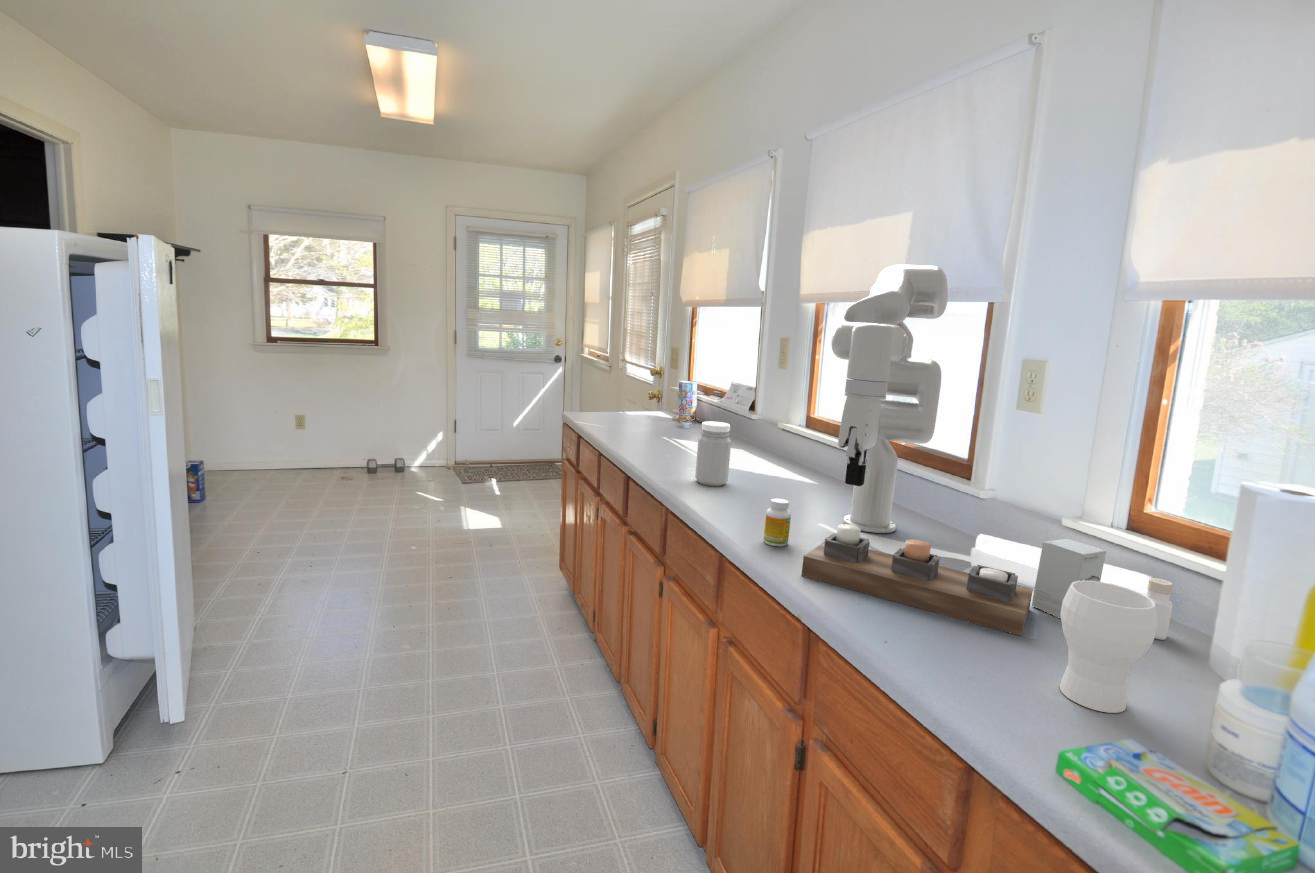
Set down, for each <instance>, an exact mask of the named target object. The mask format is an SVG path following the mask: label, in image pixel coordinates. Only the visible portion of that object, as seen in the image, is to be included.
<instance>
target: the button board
mask: <svg viewBox="0 0 1315 873" xmlns="http://www.w3.org/2000/svg"><path fill="white" fill-rule="evenodd" d="M836 534H837V532H833V533H832V534H829V536H827V537H826V538H824V541H823V542H822V543H821V544H819V545H817V547H815V548H813V549H811V551H808V552H807V553H806V554H804V555H803V557H802V558H803V559H802V569H801V575H800V576H801V577H805V576H806V578H808V577H809V579H812V578H813V580H815V579H816V580H815V581H819V580H821V581H820V582H823V583H826V582H828V583H827V584H831V585H834V586H837V585H838V586H837V587H841V588H845V589H848V590H853V591H856V592H860V593H863V594H866V595H871V596H874V597H878V598H881V599H885V600H887V601H888V600H889V601H891V602H895V603H900V604H902V605H906V606H910V607H914V608H916V609H917V608H918V609H921V610H925V611H928V612H931V613H935V614H938V615H941V616H946V617H949V616H950V617H951V618H954V619H957V620H960V619H962V620H961V621H964V622H967V621H969V623H972V624H975V623H976V625H979V626H982V625H983V627H985V628H989V627H991V628H990V629H993V628H996V629H998V630H997V631H1000V630H1003V631H1002V632H1004V631H1006V632H1005V633H1007V632H1011V633H1014V634H1013V635H1015V634H1018V635H1021V636H1020V637H1022V636H1023V633H1022V632H1024V629H1023V628H1025V626H1024V625H1026V622H1027V619H1026V618H1028V616H1027V615H1029V612H1028V611H1030V608H1031V604H1032V598H1033V596H1032V595H1033V592H1034V588H1033V587H1030V586H1029V587H1028V586H1024V585H1021V584H1018V578H1019V575H1017V574H1016V573H1014V572H1011V571H1006V570H1002V569H998V568H993V567H989V566H984V565H981V564H977V565H972V568H971V569H970V571H969V572H965V571H962V570H958V569H953V568H951V567H946V566H941V565H940V560H941V558H940V556H939V555H938V554H934V553H933V554H932V553H930V556H929V562H927V563H924V562H920V561H916V560H912V559H908V558H904V550H905V547H903V548H899V549H898V550H897V551H896V552H894V554H892V553H891V554H890V553H887V552H883V551H880V550H874V549H871V548H870V543H871V541H870V540H869V539H868V538H865V537H861V536H860V540H859V545H857V546H854V545H849V544H845V543H841V542H837V541H836ZM982 568H991V569H996V570H1000V571H1003V572H1005V573H1006V574H1007V575H1008V578H1007V582H1003V581H999V580H995V579H991V578H987V577H983V576H979V573H980V569H982ZM996 629H995V630H996ZM1011 633H1010V634H1011ZM1018 635H1017V636H1018Z"/></svg>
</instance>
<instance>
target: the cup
mask: <svg viewBox="0 0 1315 873" xmlns="http://www.w3.org/2000/svg"><path fill="white" fill-rule="evenodd" d="M1145 595H1146V594H1143V593H1141V592H1138V591H1136V590H1133V589H1130V588H1129V587H1124V586H1122V585H1117V584H1113V583H1108V582H1104V581H1100V582H1097V581H1076V582H1073V583H1072V584H1071V585H1070V587H1069V589H1068V591H1067V593H1066V595H1065V597H1064V599H1063V602H1062V608H1061V614H1060V615H1061V619H1060V620H1061V627H1062V628H1061V629H1062V633H1063V636H1064V638H1065V641H1066V644H1067V646H1068V654H1067V655H1068V656H1067V658H1068V659H1067V660H1068V661H1067V664H1068V665H1067V666H1066V668H1065V670H1064V673H1063V675H1062V677H1061V681H1060V684H1059V690H1060V692H1061V693H1062V695H1064V696H1065V697H1066V698H1068V699H1069V700H1070V701H1072V702H1074V703H1077V704H1078V705H1080V706H1082V707H1085V708H1088V709H1090V710H1094V711H1096V712H1097V711H1098V712H1102V713H1103V712H1104V713H1107V714H1109V713H1110V714H1118V713H1119V714H1120V713H1123V712H1124V711H1126V708H1127V703H1128V702H1127V700H1128V699H1127V698H1128V697H1127V696H1128V695H1127V694H1128V693H1127V690H1128V689H1127V687H1128V686H1127V683H1128V682H1127V681H1128V678H1129V677H1130V673H1131V670H1132V668H1133V666H1135V665H1136V664H1137V663H1138V662H1139V661H1140V660H1141V659H1142V658H1143V657H1144V656H1145V655H1146V653H1147V652H1148V650H1149V648H1150V647H1151V645H1152V644H1153V643H1154V640H1155V638H1154V637H1155V633H1156V628H1157V614H1156V605H1155V603H1154V601H1153V600H1151V599H1150V598H1149V597H1147V596H1145Z"/></svg>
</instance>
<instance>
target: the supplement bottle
mask: <svg viewBox="0 0 1315 873" xmlns="http://www.w3.org/2000/svg"><path fill="white" fill-rule="evenodd" d="M769 505H770V507H769V508H767V510H766V512H765V521H764V523H765V524H764V532H763V543H764V544H766V545H769V546H773V547H785V546H787V545H788V543H789V536H790V528H791V519H792V518H791V517H792V514H791V512H790V510H788V509H789V505H790V501H789V500H787V499H784V498H778V497H777V498H771V499H770V502H769Z"/></svg>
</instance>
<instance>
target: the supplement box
mask: <svg viewBox="0 0 1315 873" xmlns="http://www.w3.org/2000/svg"><path fill="white" fill-rule="evenodd" d="M1106 553H1107V550H1105V549H1102V548H1099V547H1097V546H1093V545H1090V544H1087V543H1084V542H1079V541H1077V540H1073V539H1070V538H1061V539H1055V540H1054V539H1053V540H1047V541H1043V542H1042V546H1041V552H1040V556H1039V561H1038V568H1037V573H1036V580H1035V586H1034V588H1033V594H1032V595H1033V596H1032V600H1031V605H1032V606H1034V607H1037V608H1039V609H1041V610H1043V611H1044V612H1043V611H1042V612H1043V613H1045V612H1047V613H1046V614H1047V615H1050V614H1052V615H1053V616H1052V615H1051V616H1052V617H1055V618H1057V619H1059V618H1060V619H1059V620H1061V615H1060V614H1061V608H1062V602H1063V599H1064V597H1065V595H1066V593H1067V591H1068V589H1069V587H1070V585H1071V584H1072V583H1073V582H1076V581H1097V582H1101V580H1102V574H1103V569H1104V564H1105V559H1106V555H1107V554H1106ZM1032 606H1031V607H1032ZM1034 607H1033V608H1034ZM1041 610H1040V611H1041Z"/></svg>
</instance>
